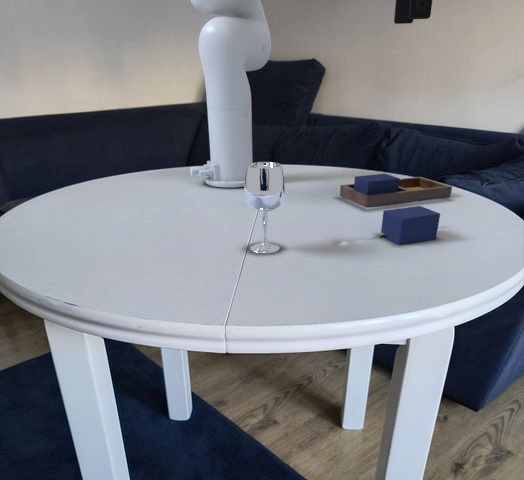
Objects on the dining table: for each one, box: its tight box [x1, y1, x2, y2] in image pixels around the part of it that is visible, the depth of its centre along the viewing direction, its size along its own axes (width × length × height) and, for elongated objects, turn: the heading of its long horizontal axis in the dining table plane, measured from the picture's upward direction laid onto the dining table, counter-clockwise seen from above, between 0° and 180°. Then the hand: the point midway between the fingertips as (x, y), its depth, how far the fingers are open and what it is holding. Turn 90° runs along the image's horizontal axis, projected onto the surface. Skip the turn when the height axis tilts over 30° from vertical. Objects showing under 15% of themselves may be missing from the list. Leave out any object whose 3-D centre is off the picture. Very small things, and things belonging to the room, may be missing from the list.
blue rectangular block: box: [380, 205, 441, 245], centre depth 76 cm, size 7×5×4 cm
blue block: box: [353, 173, 401, 195], centre depth 95 cm, size 7×5×4 cm
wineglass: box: [243, 161, 286, 255], centre depth 70 cm, size 6×6×12 cm
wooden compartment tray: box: [339, 176, 453, 208], centre depth 97 cm, size 10×19×3 cm, turn 112°
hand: (410, 21), depth 79 cm, fingers open, 9 cm apart
